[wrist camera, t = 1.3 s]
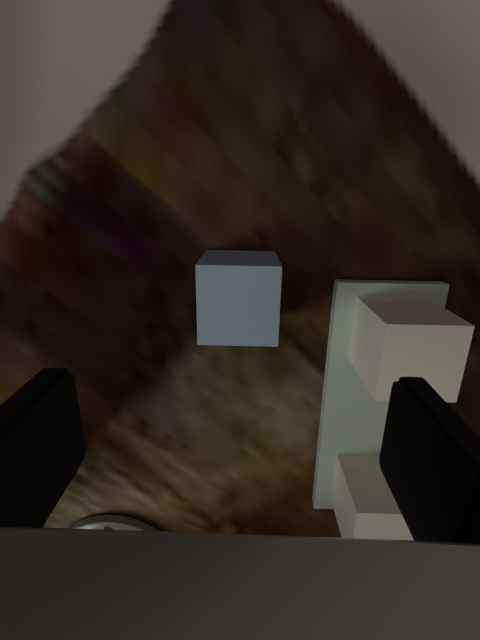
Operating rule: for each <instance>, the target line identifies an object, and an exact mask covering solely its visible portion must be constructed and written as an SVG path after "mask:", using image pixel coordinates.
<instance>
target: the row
mask: <svg viewBox="0 0 480 640" xmlns="http://www.w3.org/2000/svg"><path fill="white" fill-rule="evenodd" d="M448 290H449V284H447V283H445V282H443V281H394V280H341V279H334V287H333V297H332V307H331V317H330V327H329V336H328V346H327V356H326V366H325V376H324V386H323V396H322V405H321V415H320V425H319V435H318V445H317V455H316V464H315V474H314V484H313V494H312V503H313V508H314V509H334V512H335V516H336V519H337V523H338V527H339V530H340V534H341V538H363V539H388V540H414V539H413V537H412V535H411V533H410V531H409V529H408V527H407V524H406V522H405V520H404V518H403V516H402V514H401V512H400V510H399V507H398V505H397V503H396V501H395V499H394V497H393V495H392V493H391V490H390V488H389V486H388V484H387V482H386V480H385V478H384V475H383V473H382V471H381V469H380V463H379V456H380V450H381V445H382V439H383V433H384V428H385V422H386V416H387V411H388V405H389V399H390V394H391V388H392V384H393V382H395V381H398V380H399V378H400V377H423V378H424V379H425V380H426V381H427V382H428V383H429V384H430V385H431V386H432V388H433V389H434V390H435V391H436V392H437V393H438V394H439V395H440V396H441V397H442V398H443V399H444V400H445V402H457V398H458V393H459V389H460V385H461V381H462V377H463V373H464V368H465V364H466V360H467V356H468V352H469V348H470V344H471V339H472V335H473V331H474V327H475V326H474V325H472V324H470V323H469V322H467V321H465V320H464V319H462V318H460V317H458V316H457V315H455V314H453V313H451V312H450V311H448V310H446V309H445V304H446V299H447V295H448Z"/></svg>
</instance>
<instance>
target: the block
mask: <svg viewBox="0 0 480 640" xmlns="http://www.w3.org/2000/svg"><path fill="white" fill-rule="evenodd" d="M195 266H196V304H197V342H198V345H228V346H274V347H278V337H279V318H280V299H281V280H282V265H281V263H280V261H279V259H278V256H277V254H276V252H275V251H236V250H206V252H205V253H204V254H203V256H202V257H201V258H200V260H199V261H198V262H197V264H196V265H195Z"/></svg>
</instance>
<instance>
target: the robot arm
mask: <svg viewBox="0 0 480 640" xmlns="http://www.w3.org/2000/svg"><path fill="white" fill-rule="evenodd" d="M85 451H86V449H85V442H84V435H83V429H82V423H81V416H80V410H79V403H78V397H77V391H76V384H75V378H74V375H73V374H72V373H69V372H68V370H67V369H66V368H44V369H42V370H41V371H40V372H39V373H37V374H36V375H35V376H34V377H33V378H32V379H30V380H29V381H28V382H27V383H26V384H25V385H24V386H22V387H21V388H20V389H19V390H18V391H17V392H15V393H14V394H13V395H12V396H11V397H10V398H8V399H7V400H6V401H5V402H4V403H3V404H1V405H0V640H480V438H479V437H478V436H477V435H476V434H475V433H474V432H473V431H472V430H471V429H470V427H469V426H468V425H467V424H466V423H465V422H464V421H463V420H462V419H461V418H460V417H459V416H458V414H457V413H456V412H455V411H454V410H453V409H452V408H451V407H450V406H449V405H448V404H447V403H446V402H445V400H444V399H443V398H442V397H441V396H440V395H439V394H438V393H437V392H436V391H435V390H434V389H433V388H432V386H431V385H430V384H429V383H428V382H427V381H426V380H425V379H424V378H423V377H400V378H399V380H398V381H395V382H393V384H392V388H391V394H390V399H389V405H388V411H387V416H386V422H385V428H384V433H383V439H382V445H381V450H380V456H379V463H380V469H381V471H382V473H383V475H384V478H385V480H386V482H387V484H388V486H389V488H390V490H391V493H392V495H393V497H394V499H395V501H396V503H397V505H398V507H399V510H400V512H401V514H402V516H403V518H404V520H405V522H406V524H407V527H408V529H409V531H410V533H411V535H412V537H413V539H414V540H388V539H363V538H337V537H311V536H284V535H256V534H227V533H197V532H166V531H158V530H157V529H155V528H154V527H152V526H150V525H148V524H147V523H145V522H142V521H139V520H137V519H134V518H130V517H125V516H120V515H99V516H93V517H89V518H85V519H83V520H80V521H78V522H76V523H74V524H73V525H71V526H70V527H68V528H67V529H64V528H42V527H43V525H44V524H45V522H46V521H47V519H48V517H49V516H50V514H51V512H52V511H53V509H54V508H55V506H56V504H57V503H58V501H59V499H60V498H61V496H62V495H63V493H64V491H65V490H66V488H67V486H68V485H69V483H70V482H71V480H72V478H73V477H74V475H75V473H76V472H77V470H78V469H79V467H80V465H81V464H82V462H83V460H84V457H85Z"/></svg>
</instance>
